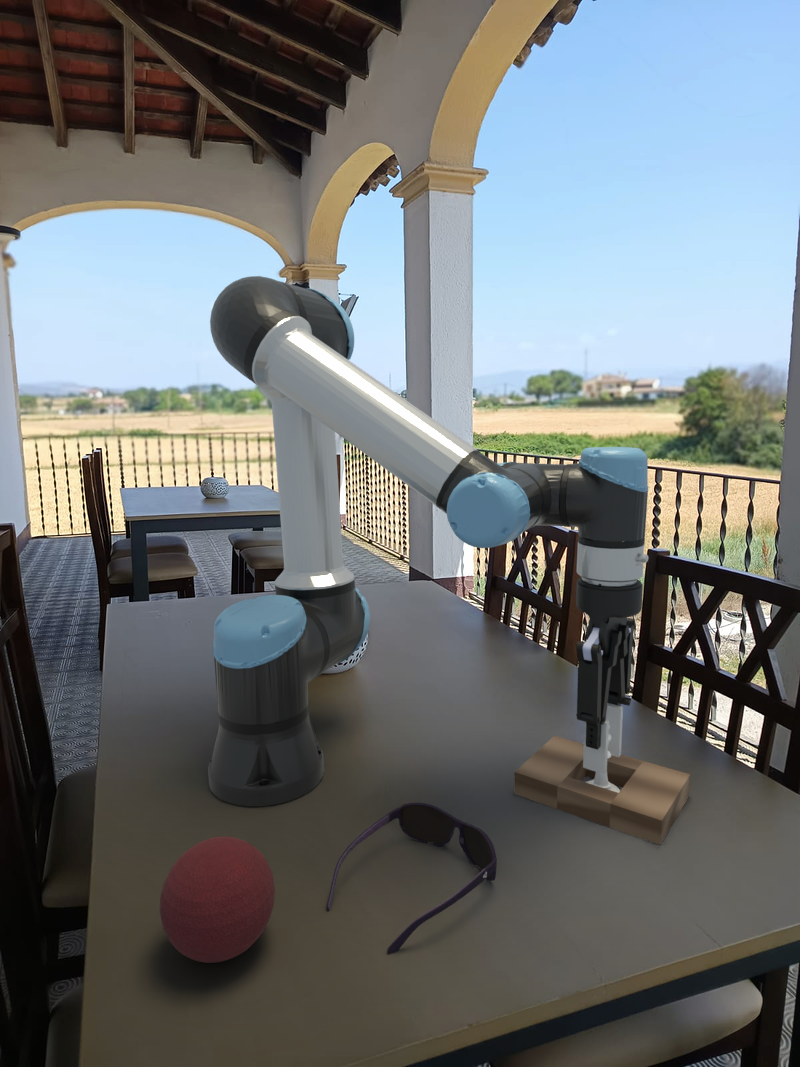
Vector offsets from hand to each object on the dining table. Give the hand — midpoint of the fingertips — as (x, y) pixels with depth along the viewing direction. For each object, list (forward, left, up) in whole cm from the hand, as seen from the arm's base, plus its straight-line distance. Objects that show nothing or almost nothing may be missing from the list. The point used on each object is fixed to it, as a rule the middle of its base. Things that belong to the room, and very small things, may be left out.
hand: (602, 760), depth 85 cm
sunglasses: (-28, +9, -5) cm, 30 cm away
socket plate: (0, 0, -5) cm, 5 cm away
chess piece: (0, 0, -5) cm, 5 cm away
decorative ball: (-44, +19, -5) cm, 48 cm away
